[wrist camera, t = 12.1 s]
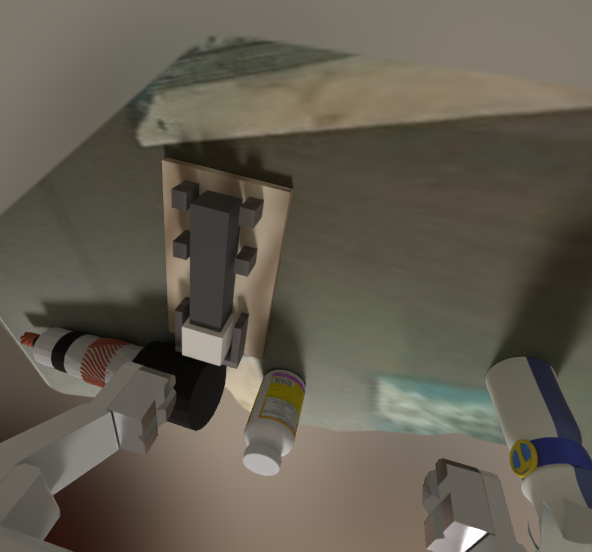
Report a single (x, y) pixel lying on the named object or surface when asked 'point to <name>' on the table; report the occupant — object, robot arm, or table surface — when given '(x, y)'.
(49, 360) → the cable
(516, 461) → the water bottle
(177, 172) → the clip board
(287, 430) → the supplement bottle
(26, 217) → the table surface
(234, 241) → the bar
